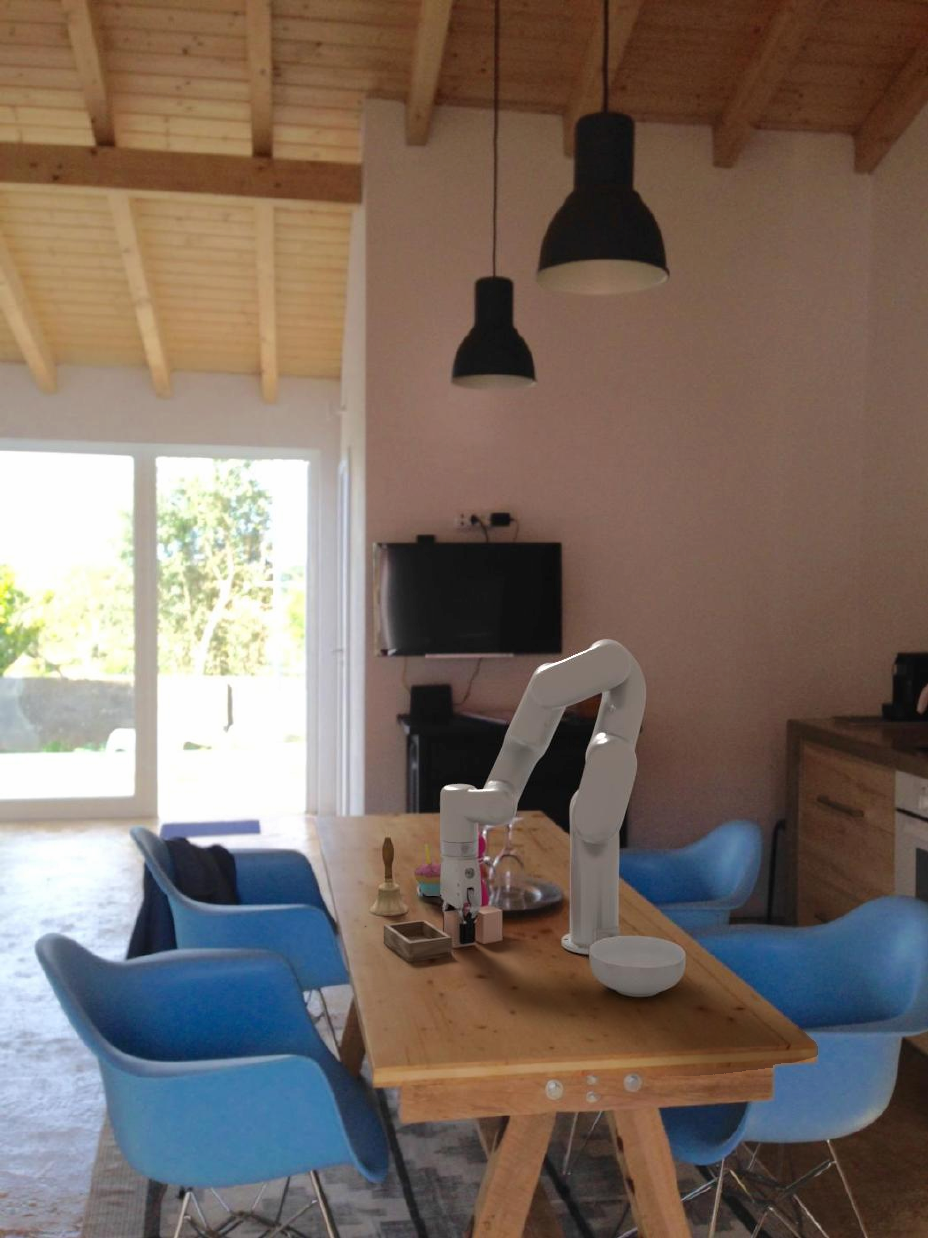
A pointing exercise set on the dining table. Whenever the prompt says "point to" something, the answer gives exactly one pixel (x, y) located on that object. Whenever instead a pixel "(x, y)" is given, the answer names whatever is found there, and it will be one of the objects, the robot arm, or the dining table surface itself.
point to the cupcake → (429, 876)
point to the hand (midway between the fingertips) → (459, 937)
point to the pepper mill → (480, 858)
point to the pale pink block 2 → (488, 925)
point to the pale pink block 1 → (453, 927)
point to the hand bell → (388, 887)
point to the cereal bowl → (637, 964)
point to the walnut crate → (417, 940)
